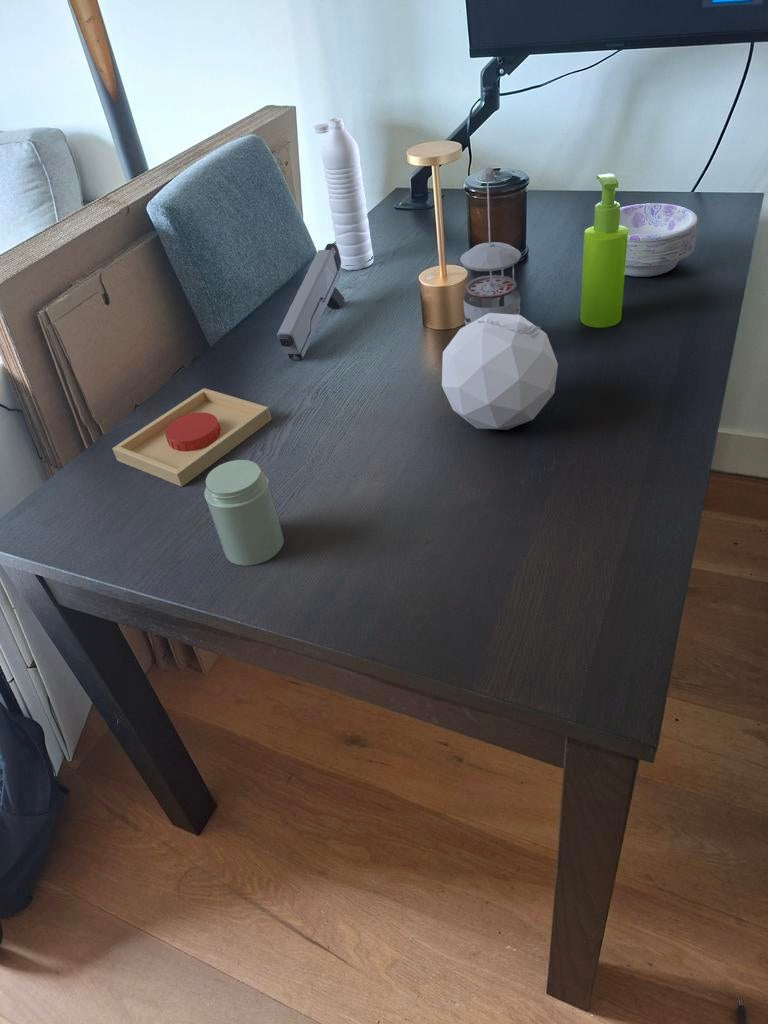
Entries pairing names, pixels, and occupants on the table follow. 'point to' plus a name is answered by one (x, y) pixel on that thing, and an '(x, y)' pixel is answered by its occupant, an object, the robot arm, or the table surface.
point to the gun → (311, 302)
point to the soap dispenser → (604, 261)
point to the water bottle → (346, 195)
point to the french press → (491, 286)
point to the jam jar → (243, 512)
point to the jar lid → (192, 431)
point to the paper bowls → (657, 237)
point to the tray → (182, 466)
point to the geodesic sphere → (499, 371)
